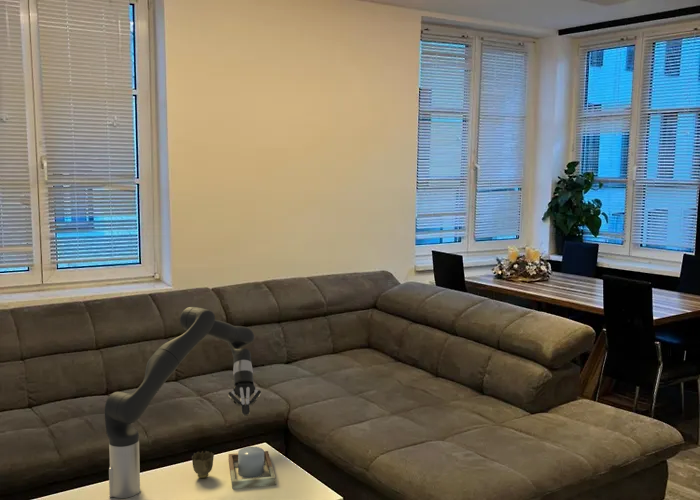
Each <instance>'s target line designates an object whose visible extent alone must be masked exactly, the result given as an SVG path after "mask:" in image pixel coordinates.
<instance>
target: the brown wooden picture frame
mask: <svg viewBox="0 0 700 500" xmlns="http://www.w3.org/2000/svg"><path fill="white" fill-rule="evenodd" d="M269 453H270V452H269V450H264V466H266V467H267V472H268V475H269V476H265V477H264V476H263V477H261V476H260V477H255V478H242V479H236V474H235V473H236V472H235V468H237V469H238V452H236V453H228V467H229V474H230V480H231V481H230V484H231V488H232V489H233V490H236V489H247V488H258V487H267V486H269V487H270V486H276V481H277V480H276V475H275V471H274V468H273V463H272V460H271V457H270V454H269Z"/></svg>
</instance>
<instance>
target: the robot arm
mask: <svg viewBox="0 0 700 500" xmlns="http://www.w3.org/2000/svg"><path fill="white" fill-rule="evenodd" d="M179 322H180V323H179V324H180V326H181V327H182V329H184V331H185V332H184V333H182V334H181V335H179V336H177V337H175V338H173V339H171V340H169V341H166V342H165V343H163V344H162V345H161V346H159V347H157V349H156V350H155V352H154V353H153V354H152V355H151V356H150V358H149V359H148V360H147V363H146V367H145V371H144V377H143V381H142V382H141V384H140V385H139V386H138V387H137V389H136V390H135V391H134V392H132V393H128V392H123V391H114V392H112V393H111V394H110V395H109V396H108V397H107V399H106V401H105V404H104V423H105V433H106V436H107V438H108V447H109V448H108V449H109V450H108V451H109V467H108V482H109V483H108V484H109V489H108V490H109V498H116V499H127V498H131V497H134V496H136V495H137V494H139V493H140V491H141V475H140V474H141V473H140V471H141V470H140V468H141V467H140V466H141V465H140V432H139V431H138V429H136V428H135V427H134V426H133V425H132V424H134V423H136V422H137V421H138V420H139V419H140V418H141V417H142V416H143V414H144V413H145V411H147V408H148V407H149V405H150V403H151V402H152V400H153V399H154V397H155V396H156V395H157V393H158V392H159V391H160V389H161V388H162V387H163V386H164V385H165V383H166V381H167V380H168V379H169V378H170V377H171V375H172V374H173V373H174V372H175V371H176V370H177V368H178V367H179V366H180V364H181V363H182V362H183V361H184V359H185V358H186V357H187V355H189V354H190V353H191V352H192V350H193V349H194V348H195V347H196V346H197V345H198V344H199V343H200V341H202V340H203V339H204V338H205V337H206V336H207V335H208V336H210V337H212V338H215V339H218V340H220V341H223V342H226V343H228V345H229V348H230V350H231V354H232V357H233V359H232V360H233V369H232V371H233V374H232V375H233V385H234V387H233V388H232V391H229V392H228V396H227V397H228V399H229V400H231V402H232V403H234V405H236V407H241V415H242V416H243V417H248V416H249V415H250V412H251V411H250V406H253V405H254V404H256V402H257V400H258V399H259V398H260V396H261V393H262V391H261V390H258V389H256V386H255V384H254V371H253V366H252V363H253V362H252V353H251V350H249V349H248V348H244V347H246V346H249V345H251V344H252V343H253V342H254V340H255V335H254V332H253V330H251V328H249V327H248V326H242V325H232V324H231V323H228V322H225V321H222V320H219V319H216V316H215V313H214V312H213V311H212V310H210V309H208V308H204V307H197V306H189V307H186V308H185V309H183V311H182V312H181V314H180V319H179ZM252 396H253V397H252ZM250 399H251V400H250Z"/></svg>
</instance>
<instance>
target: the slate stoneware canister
mask: <svg viewBox="0 0 700 500" xmlns="http://www.w3.org/2000/svg"><path fill="white" fill-rule="evenodd" d="M264 451H265V449H263V448H262V447H259V446H246V447H243V448H240V449H238V452H237V453H238V461H237V462H238V467H237V475H239V476H240V477H242V478H243V479H250V478H260V477H261V476H263V475H264V473H265V465H264V461H265V459H264ZM262 474H263V475H262Z"/></svg>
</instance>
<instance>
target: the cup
mask: <svg viewBox="0 0 700 500" xmlns="http://www.w3.org/2000/svg"><path fill="white" fill-rule="evenodd" d="M214 454H215V453H213V452H212V451H211V452H210V451H209V450H208V451H207V450H205V451H204V450H202V451H201V452H200V451H197V452H196V453H195V452H194V453H193V455H191V461H192V468H193V471H194V473H195V474H197V478H198V479H201V480H203V479H204V480H205V479H207V478H208V477H209V473H210V472H211V471H212V469H213V465H214V456H215V455H214Z"/></svg>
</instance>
